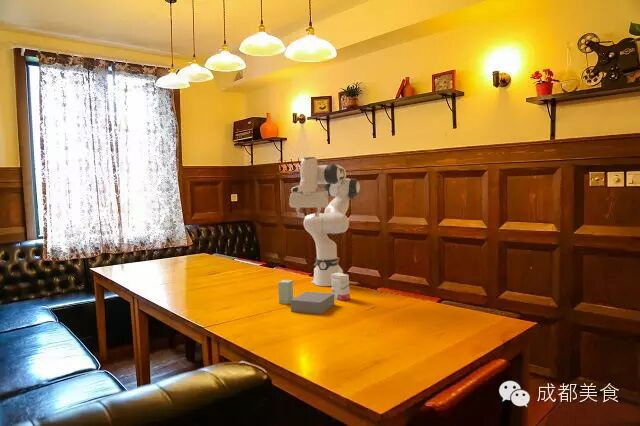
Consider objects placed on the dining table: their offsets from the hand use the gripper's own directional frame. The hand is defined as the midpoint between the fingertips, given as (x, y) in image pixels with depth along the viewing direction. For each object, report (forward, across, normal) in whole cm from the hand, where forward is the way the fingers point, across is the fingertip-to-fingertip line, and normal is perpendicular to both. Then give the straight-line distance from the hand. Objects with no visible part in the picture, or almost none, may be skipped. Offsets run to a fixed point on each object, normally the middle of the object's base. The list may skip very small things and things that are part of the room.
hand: (308, 216), depth 221 cm
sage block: (+41, +4, +15) cm, 43 cm away
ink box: (+39, -18, +1) cm, 43 cm away
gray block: (+41, -12, +20) cm, 47 cm away
